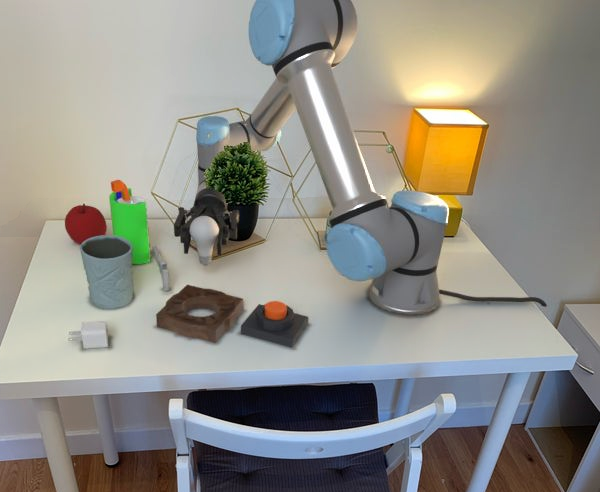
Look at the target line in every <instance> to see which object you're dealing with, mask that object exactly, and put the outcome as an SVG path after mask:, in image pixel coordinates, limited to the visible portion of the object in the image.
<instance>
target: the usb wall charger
mask: <svg viewBox="0 0 600 492" xmlns="http://www.w3.org/2000/svg"><path fill="white" fill-rule="evenodd" d="M68 335H69V336H76V337H68V338H67V340H68V342H82V345H83V349H84V350H88V349H102V348H103V349H104V348H105V349H106V348H109V331H108V325H107V320H99V321H85V322H81V329H80V330H76V331H75V330H74V331H68Z"/></svg>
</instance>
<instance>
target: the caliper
mask: <svg viewBox="0 0 600 492" xmlns="http://www.w3.org/2000/svg"><path fill="white" fill-rule="evenodd" d="M151 250H152V253H153V256H154V258H155V261H156V263H157V266H158V268H159V273H160V275H161V281H162V287H163V290H164V292H169V291H170V280H169V271H168V266H167V261H165V260H164V259H163V257H162V255H161V252H160V251H159V248H158V246H157V245H153V246H151Z"/></svg>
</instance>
